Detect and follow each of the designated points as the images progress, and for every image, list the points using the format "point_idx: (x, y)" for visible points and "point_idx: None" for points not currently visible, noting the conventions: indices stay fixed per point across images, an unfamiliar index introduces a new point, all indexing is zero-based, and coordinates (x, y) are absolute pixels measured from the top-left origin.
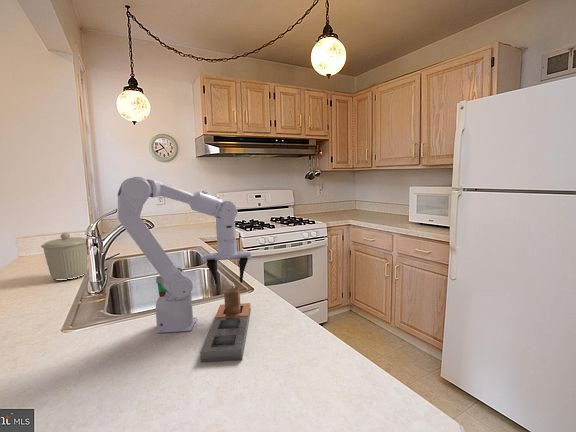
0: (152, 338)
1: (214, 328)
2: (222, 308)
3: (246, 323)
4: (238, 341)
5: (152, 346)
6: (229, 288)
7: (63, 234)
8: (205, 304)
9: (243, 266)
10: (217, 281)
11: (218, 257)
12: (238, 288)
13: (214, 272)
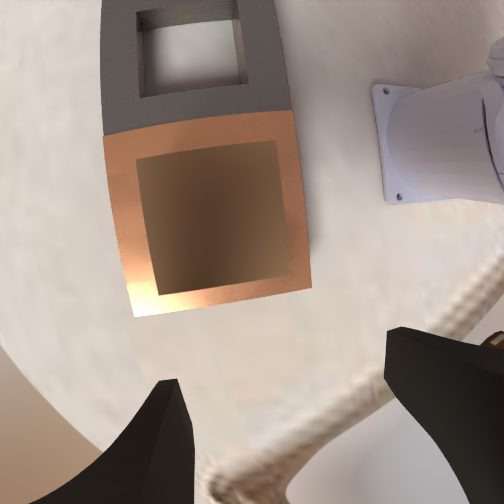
0: (456, 69)
1: (253, 5)
2: None
3: (100, 54)
4: None
5: (430, 20)
6: (255, 267)
7: None
8: (383, 355)
9: (73, 497)
10: (394, 353)
11: None
12: (159, 267)
13: (476, 361)
